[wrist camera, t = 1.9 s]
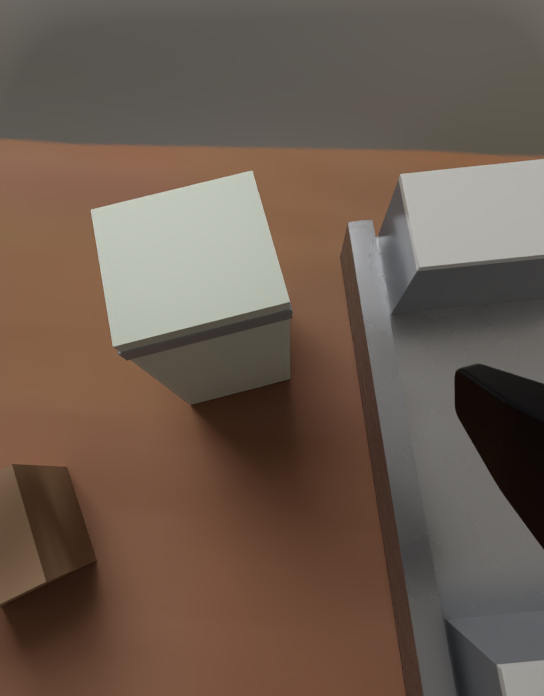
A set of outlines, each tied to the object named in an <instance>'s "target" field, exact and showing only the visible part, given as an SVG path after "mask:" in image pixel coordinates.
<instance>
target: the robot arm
mask: <svg viewBox="0 0 544 696" xmlns="http://www.w3.org/2000/svg"><path fill="white" fill-rule="evenodd" d="M454 396H455V411H456V414H457V416H458V419H459V420H460V422H461V424H462V426H463V427H464V429H465V431H466V433H467V434H468V436H469V438H470V439H471V441H472V443H473V445H474V446H475V448H476V450H477V452H478V453H479V455H480V457H481V458H482V460H483V462H484V464H485V465H486V467H487V469H488V471H489V472H490V474H491V476H492V478H493V479H494V481H495V482H496V484H497V486H498V487H499V489H500V490H501V492H502V493H503V495H504V496H505V498H506V499H507V500H508V502H509V503H510V505H511V506H512V507H513V509H514V510H515V511H516V513H517V514H518V515H519V517H520V518H521V520H522V521H523V522H524V524H525V525H526V526H527V528H528V529H529V530H530V532H531V533H532V535H533V536H534V537H535V539H536V540H537V541H538V543H539V544H540V545H541V547H542V548H543V550H544V383H540V382H537V381H534V380H531V379H528V378H525V377H521V376H518V375H515V374H512V373H509V372H506V371H503V370H499V369H496V368H493V367H490V366H487V365H484V364H479V363H477V364H473V365H469V366H465V367H461V368H458V369H457V370H456V372H455V376H454Z"/></svg>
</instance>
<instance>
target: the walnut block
mask: <svg viewBox="0 0 544 696" xmlns="http://www.w3.org/2000/svg"><path fill="white" fill-rule="evenodd" d="M94 561H97V560H96V556H95V553H94V550H93V547H92V544H91V541H90V538H89V535H88V532H87V529H86V525H85V522H84V519H83V516H82V513H81V510H80V507H79V504H78V501H77V498H76V494H75V491H74V488H73V485H72V482H71V479H70V476H69V473H68V470H67V467H57V466H37V465H18V464H11V465H9V466H7V467H5V468H3V469H0V607H2V606H4V605H6V604H8V603H10V602H12V601H14V600H16V599H18V598H20V597H23V596H25V595H27V594H29V593H31V592H33V591H35V590H37V589H39V588H41V587H43V586H45V585H47V584H49V583H51V582H53V581H55V580H57V579H60V578H62V577H64V576H66V575H68V574H70V573H72V572H74V571H76V570H78V569H80V568H82V567H84V566H86V565H88V564H90V563H92V562H94Z"/></svg>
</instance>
